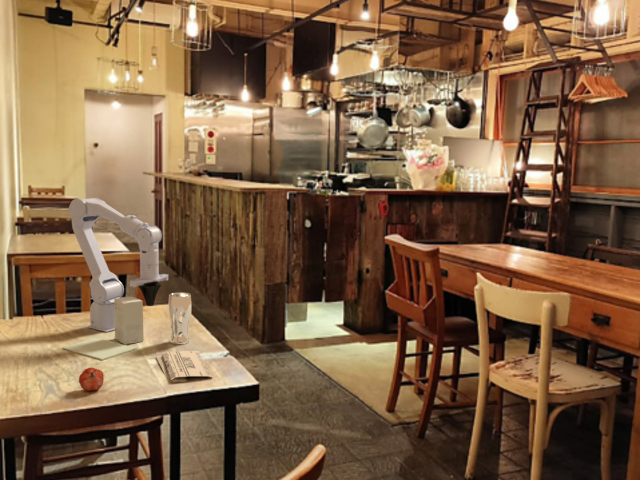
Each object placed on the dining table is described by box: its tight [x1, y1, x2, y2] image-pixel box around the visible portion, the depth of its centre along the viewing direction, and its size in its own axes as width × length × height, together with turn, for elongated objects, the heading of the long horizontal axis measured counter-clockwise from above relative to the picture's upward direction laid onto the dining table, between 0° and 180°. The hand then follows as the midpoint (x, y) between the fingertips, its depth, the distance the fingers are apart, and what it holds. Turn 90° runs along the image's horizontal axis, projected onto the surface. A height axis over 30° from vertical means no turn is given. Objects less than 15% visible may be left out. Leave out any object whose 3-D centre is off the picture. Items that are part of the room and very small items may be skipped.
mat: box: [62, 337, 137, 361], centre depth 171 cm, size 18×12×1 cm, turn 59°
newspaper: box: [155, 350, 213, 383], centre depth 158 cm, size 23×12×2 cm, turn 21°
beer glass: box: [167, 292, 192, 346], centre depth 179 cm, size 7×7×15 cm
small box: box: [114, 295, 144, 345], centre depth 180 cm, size 8×6×13 cm
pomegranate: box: [78, 366, 105, 392], centre depth 141 cm, size 6×6×8 cm
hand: (149, 305), depth 187 cm, fingers closed
